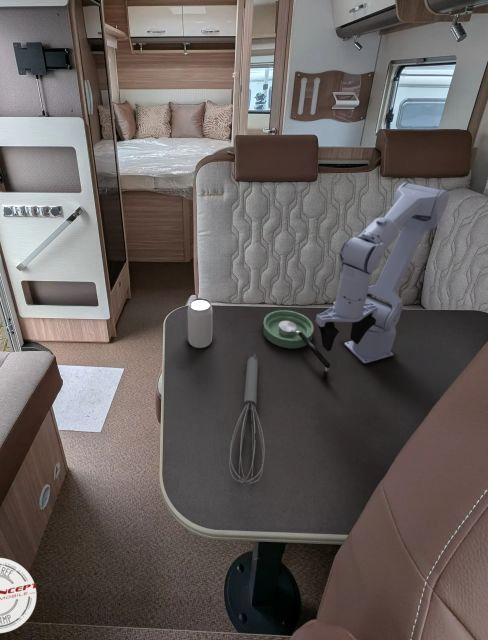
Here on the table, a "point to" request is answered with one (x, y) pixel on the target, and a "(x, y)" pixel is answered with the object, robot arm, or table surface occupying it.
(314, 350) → the ladle
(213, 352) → the table surface
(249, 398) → the kitchen whisk
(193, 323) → the can
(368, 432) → the table surface
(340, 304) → the robot arm
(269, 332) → the bowl
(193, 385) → the table surface
